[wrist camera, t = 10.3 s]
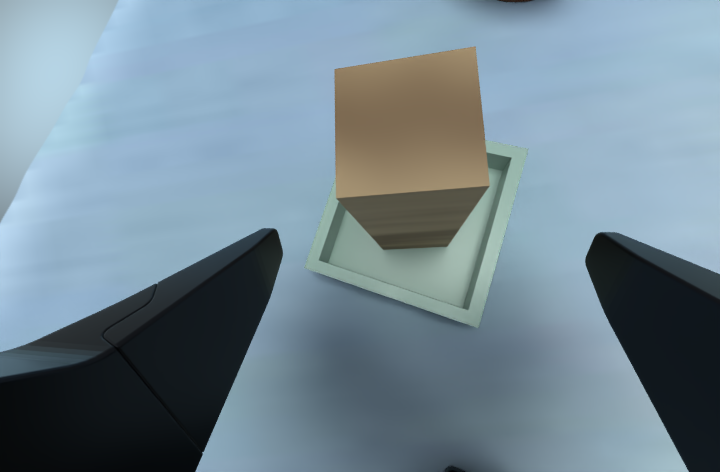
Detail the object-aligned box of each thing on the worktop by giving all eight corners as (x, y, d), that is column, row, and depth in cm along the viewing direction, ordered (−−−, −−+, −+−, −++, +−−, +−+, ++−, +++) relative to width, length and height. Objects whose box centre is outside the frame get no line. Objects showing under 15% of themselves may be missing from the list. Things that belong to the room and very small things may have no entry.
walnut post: (447, 246, 21) (489, 185, 9) (383, 249, 22) (336, 198, 9) (442, 185, 22) (475, 46, 9) (381, 190, 23) (334, 69, 10)
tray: (470, 322, 21) (478, 328, 18) (318, 270, 23) (304, 268, 21) (513, 167, 22) (528, 148, 19) (364, 134, 25) (357, 113, 22)
